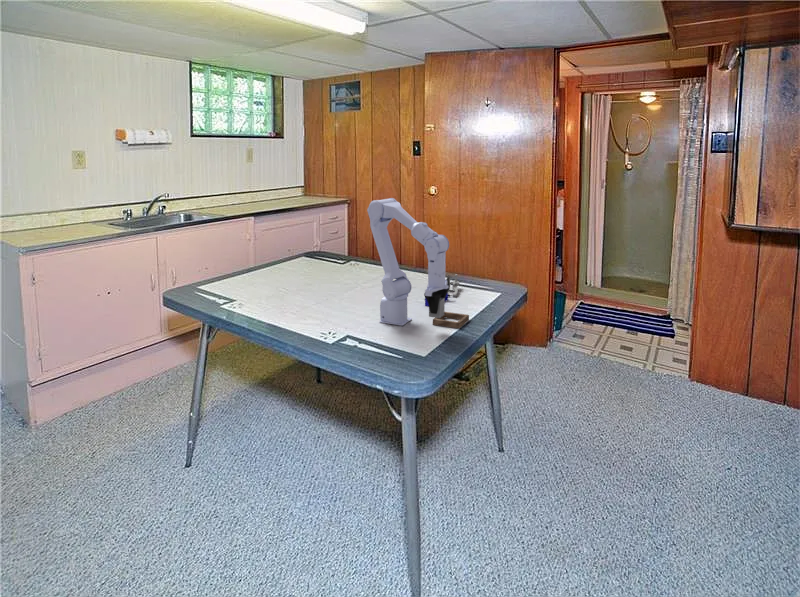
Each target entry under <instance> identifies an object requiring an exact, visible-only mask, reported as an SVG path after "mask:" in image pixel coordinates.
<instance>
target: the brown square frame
mask: <svg viewBox="0 0 800 597" xmlns="http://www.w3.org/2000/svg"><path fill="white" fill-rule="evenodd" d="M447 319H453V320H458V321H453V320H447ZM469 320H470V315H469V314H465V313H464V314H463V313H457V312H450V311H444V315H443V316H442V317H441V318H435V317H433V318H432V325H434V326H439V327H446V328H453V329H459V330H460V329H461V328H462V327H463V326H464V325H465V324H466V323H468V322H469Z"/></svg>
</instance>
